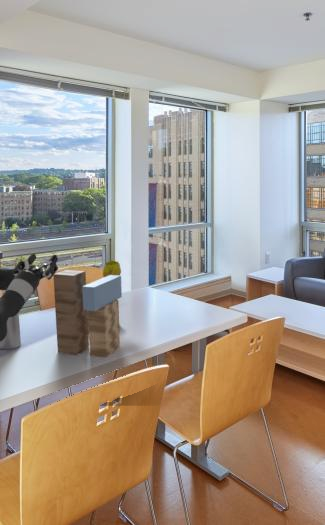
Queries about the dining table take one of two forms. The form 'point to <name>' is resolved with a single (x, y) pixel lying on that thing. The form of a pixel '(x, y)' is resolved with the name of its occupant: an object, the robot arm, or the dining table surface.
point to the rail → (101, 292)
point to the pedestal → (70, 312)
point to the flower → (111, 269)
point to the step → (104, 330)
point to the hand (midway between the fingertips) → (45, 255)
